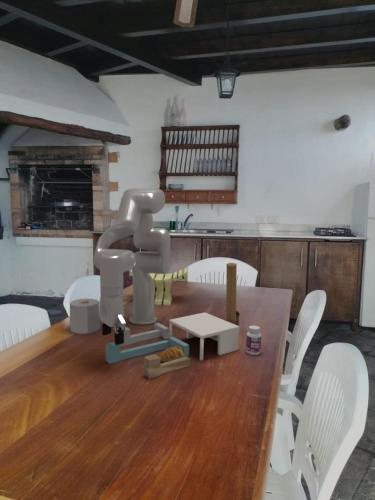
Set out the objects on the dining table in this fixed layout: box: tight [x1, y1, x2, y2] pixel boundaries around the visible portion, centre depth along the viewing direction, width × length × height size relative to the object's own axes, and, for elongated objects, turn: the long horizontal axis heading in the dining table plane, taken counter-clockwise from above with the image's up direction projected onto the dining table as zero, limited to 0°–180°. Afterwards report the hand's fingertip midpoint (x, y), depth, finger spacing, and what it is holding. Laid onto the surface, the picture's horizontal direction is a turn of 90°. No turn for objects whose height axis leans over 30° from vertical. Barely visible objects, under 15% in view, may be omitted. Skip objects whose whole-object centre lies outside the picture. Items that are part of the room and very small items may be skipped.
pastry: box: [157, 346, 185, 363], centre depth 133 cm, size 9×7×4 cm
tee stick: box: [120, 322, 170, 348], centre depth 149 cm, size 8×20×6 cm, turn 126°
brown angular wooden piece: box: [143, 353, 191, 380], centre depth 123 cm, size 3×16×6 cm, turn 126°
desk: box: [168, 312, 240, 361], centre depth 144 cm, size 20×18×9 cm
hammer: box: [225, 262, 240, 326], centre depth 160 cm, size 20×5×30 cm, turn 164°
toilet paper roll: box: [69, 298, 101, 335], centre depth 160 cm, size 12×12×12 cm
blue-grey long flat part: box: [105, 336, 190, 364], centre depth 132 cm, size 12×26×6 cm, turn 125°
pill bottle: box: [245, 325, 262, 356], centre depth 139 cm, size 5×5×10 cm
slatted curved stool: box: [128, 267, 189, 306], centre depth 205 cm, size 30×16×18 cm, turn 89°
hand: (113, 339), depth 130 cm, fingers open, 9 cm apart
